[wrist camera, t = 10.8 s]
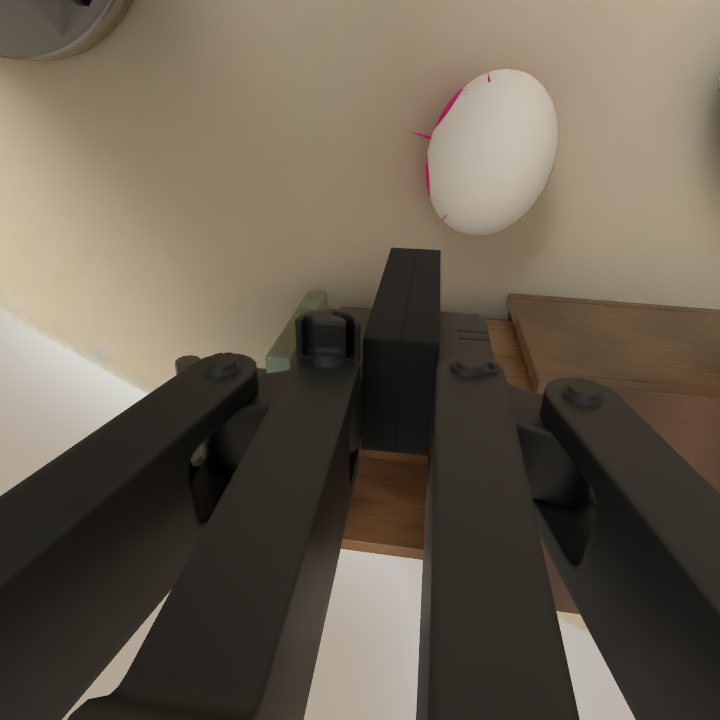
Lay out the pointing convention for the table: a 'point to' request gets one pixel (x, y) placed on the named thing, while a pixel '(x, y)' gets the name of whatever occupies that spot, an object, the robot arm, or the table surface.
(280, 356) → the drawer
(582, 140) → the table surface
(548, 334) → the cabinet
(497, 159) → the stress ball
